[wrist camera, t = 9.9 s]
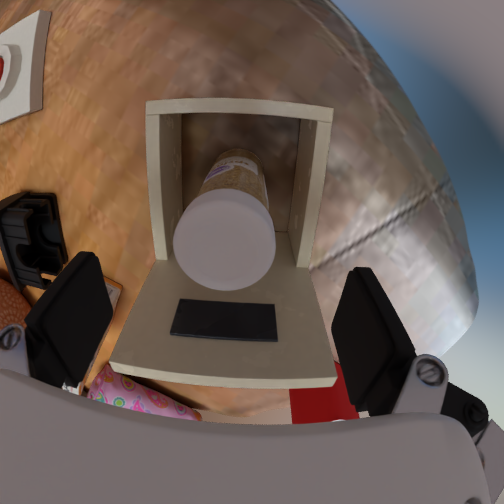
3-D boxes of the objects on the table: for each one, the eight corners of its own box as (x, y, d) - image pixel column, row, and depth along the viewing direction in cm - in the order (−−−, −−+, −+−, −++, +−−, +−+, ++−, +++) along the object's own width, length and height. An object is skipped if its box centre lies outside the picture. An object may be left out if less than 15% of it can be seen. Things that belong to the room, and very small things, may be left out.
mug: (281, 377, 39) (286, 437, 30) (325, 352, 36) (339, 417, 27) (324, 397, 43) (332, 447, 34) (362, 377, 40) (376, 429, 31)
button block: (-1, 42, 12) (-22, 43, 8) (51, 12, 12) (29, 7, 9) (-6, 127, 18) (-27, 134, 14) (42, 108, 18) (18, 114, 15)
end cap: (18, 189, 23) (-18, 212, 17) (55, 189, 23) (17, 215, 17) (33, 258, 28) (6, 287, 22) (69, 265, 28) (42, 299, 22)
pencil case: (210, 407, 45) (206, 448, 37) (183, 417, 48) (178, 453, 40) (110, 353, 37) (92, 398, 29) (93, 369, 40) (78, 408, 32)
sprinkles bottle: (238, 137, 21) (222, 178, 10) (274, 174, 23) (298, 255, 12) (201, 173, 23) (150, 251, 11) (237, 207, 25) (224, 309, 13)
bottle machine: (170, 100, 19) (41, 113, 6) (313, 107, 20) (424, 122, 6) (174, 235, 26) (113, 371, 12) (296, 242, 27) (332, 386, 13)
